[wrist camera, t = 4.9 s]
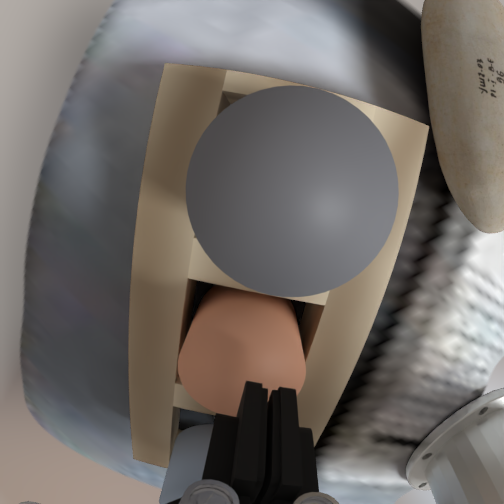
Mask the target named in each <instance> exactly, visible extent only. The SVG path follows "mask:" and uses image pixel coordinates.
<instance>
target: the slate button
mask: <svg viewBox="0 0 504 504" xmlns="http://www.w3.org/2000/svg"><path fill="white" fill-rule="evenodd" d="M213 425H214V424H205V425H197V426H193V427H190V428H187V429H185V430H184V431H182V432H181V433H180V434H179V435H178V436H177V438H176V440H175V443H174V447H173V451H172V454H171V458H170V461H169V465H168V469H167V472H166V476H165V480H164V484H163V487H162V491H161V495H160V499H159V503H160V504H166V503H169V502H171V501H174V500H176V499H179V498H181V497H182V496H183V494H184V492H185V490H186V489H187V488H188V486H189V485H191V484H193V483H194V482H196V481H200V480H202V475H203V471H204V466H205V462H206V457H207V453H208V448H209V443H210V439H211V434H212V430H213Z"/></svg>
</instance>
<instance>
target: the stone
mask: <svg viewBox="0 0 504 504" xmlns="http://www.w3.org/2000/svg"><path fill="white" fill-rule="evenodd" d="M421 35H422V48H423V60H424V68H425V77H426V86H427V94H428V103H429V112H430V119H431V124H432V130H433V135H434V140H435V144H436V148H437V154H438V159H439V163H440V166H441V169H442V172H443V175H444V177H445V180H446V183H447V185H448V188H449V190H450V192H451V194H452V196H453V198H454V199H455V201H456V203H457V205H458V206H459V208H460V210H461V211H462V212H463V214H464V215H465V216H466V218H467V219H468V220H469V221H470V222H471V223H472V224H473V225H474V226H475V227H476V228H477V229H479V230H480V231H482V232H484V233H498V232H501V231H503V230H504V7H503V5H502V4H501V3H500V2H499V1H498V0H425V1H424V4H423V10H422V19H421Z"/></svg>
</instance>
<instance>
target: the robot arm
mask: <svg viewBox="0 0 504 504" xmlns="http://www.w3.org/2000/svg"><path fill="white" fill-rule="evenodd" d="M262 387H263V384H262V383H257V382H252V381H247V380H246V382H245V386H244V390H243V394H242V397H241V401H240V405H239V408H238V412H237V416H236V417H234V416H229V415H224V414H219V413H216V416H215V421H214V425H213V430H212V434H211V439H210V443H209V448H208V453H207V457H206V462H205V466H204V471H203V475H202V480H200V481H196V482H194V483H193V484H191V485H189V486H188V488H187V489H186V490H185V492H184V494H183V496H182V497H181V498H179V499H176V500H174V501H171V502H169V503H166V504H339V503H338V502H337V501H336V500H335V499H334V498H333V497H331V496H329V495H327V494H324V493H321V492H319V487H318V478H317V468H316V459H315V450H314V441H313V433H312V429H311V428H305V427H299V418H298V406H297V394H296V389H292V388H286V387H279V388H278V390H272V391H271V394H270V397H269V400H268V389H267V388H262ZM406 476H407V479H408V482H409V484H410V485H411V487H413V488H415V489H418V490H431V491H432V494H433V496H434V499H435V501H436V504H504V388H501V389H498V390H494V391H492V392H490V393H487V394H485V395H483V396H481V397H479V398H477V399H476V400H474V401H472V402H470V403H469V404H467V405H466V406H464V407H463V408H461V409H460V410H458V411H457V412H455V413H454V414H453V415H451V416H450V417H449V418H448V419H446V420H445V421H444V422H443V423H441V424H440V425H439V426H438V427H437V428H436V429H434V430H433V431H432V432H431V433H430V434H429V435H428V436H427V437H426V438H425V439H424V440H423V441H422V443H421V444H420V445H419V446H418V447H417V449H416V450H415V451H414V453H413V454H412V456H411V458H410V459H409V461H408V464H407V466H406ZM20 504H39V503H36V502H29V501H27V502H21V503H20Z"/></svg>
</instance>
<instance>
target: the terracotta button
mask: <svg viewBox="0 0 504 504" xmlns="http://www.w3.org/2000/svg"><path fill="white" fill-rule="evenodd" d="M178 373H179V377H180V380H181V382H182V384H183V387H184V388H185V390H186V391H187V392H188V394H189V395H190V396H191V397H192V398H193V399H194V400H195V401H196V402H198V403H199V404H201V405H202V406H203V407H205V408H207V409H209V410H211V411H213V412H215V413H219V414H224V415H229V416H234V417H236V416H237V412H238V408H239V405H240V401H241V397H242V394H243V390H244V386H245V382H246V380H247V381H252V382H257V383H262V384H263V387H262V388H267V389H268V400H269V397H270V394H271V391H272V390H278V388H279V387H286V388H292V389H296V394H297V395H298V393H299V392H300V391H301V389H302V386H303V384H304V381H305V376H306V364H305V359H304V354H303V349H302V343H301V338H300V333H299V328H298V323H297V318H296V313H295V309H294V307H293V304H292V302H291V301H290V299H287V298H282V297H276V296H271V295H266V294H261V293H256V292H251V291H246V290H241V289H236V288H231V287H227V286H222V285H217V284H216V285H215V286H213V287H212V288H211V289H210V290H209V291H208V292H207V293H206V294H205V295H204V296H203V298H202V300H201V301H200V304H199V306H198V309H197V311H196V314H195V316H194V319H193V321H192V324H191V326H190V329H189V331H188V334H187V336H186V339H185V342H184V344H183V347H182V349H181V352H180V355H179V359H178Z"/></svg>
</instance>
